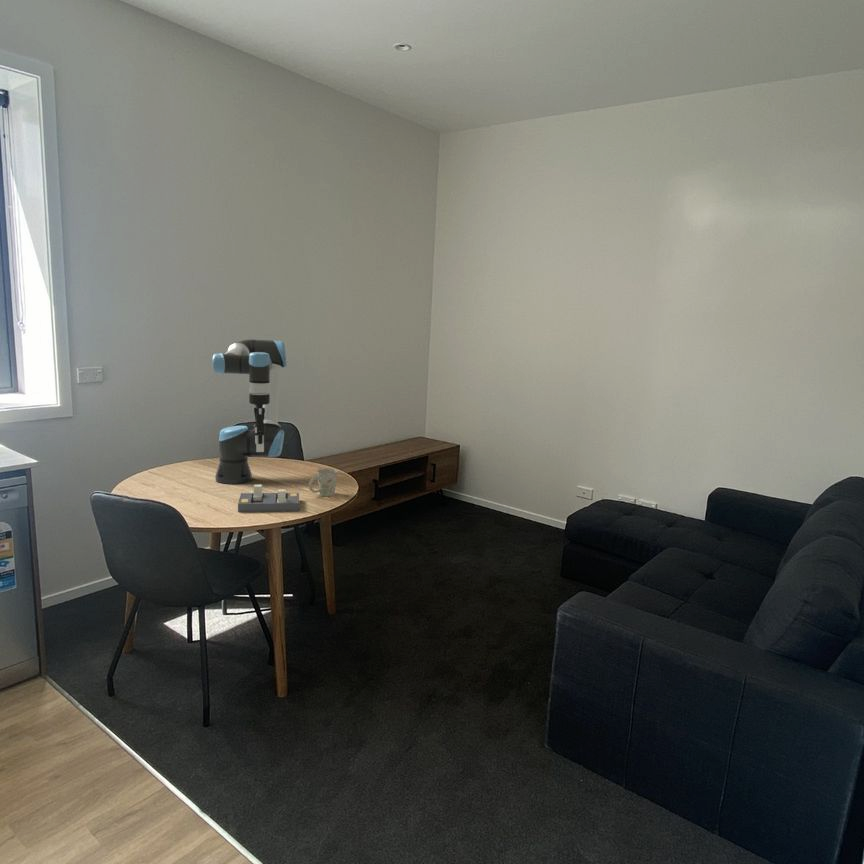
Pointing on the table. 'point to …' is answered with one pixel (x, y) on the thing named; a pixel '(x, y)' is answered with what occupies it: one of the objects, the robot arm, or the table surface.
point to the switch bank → (268, 503)
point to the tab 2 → (281, 496)
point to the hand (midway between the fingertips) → (259, 447)
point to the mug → (325, 482)
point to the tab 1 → (257, 493)
